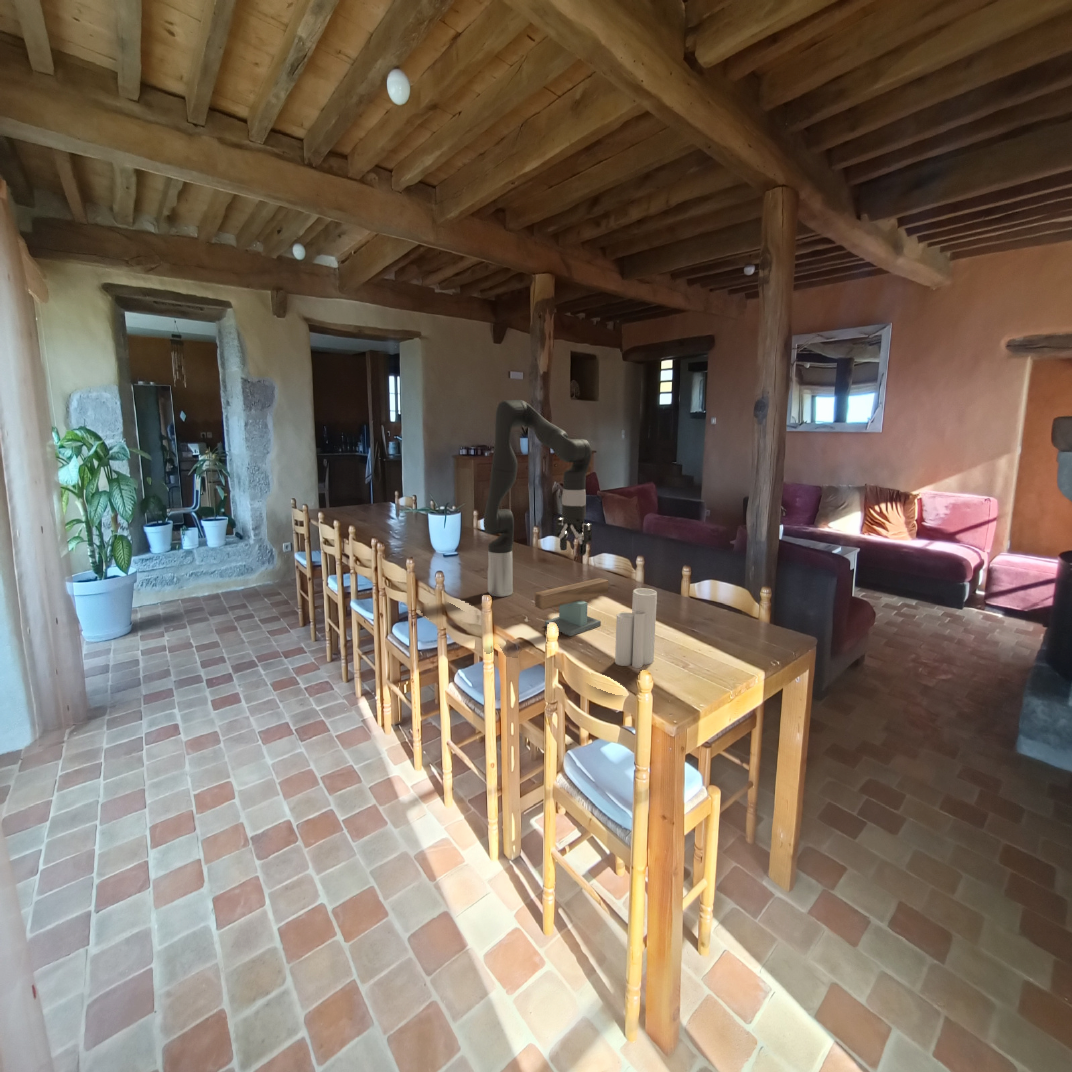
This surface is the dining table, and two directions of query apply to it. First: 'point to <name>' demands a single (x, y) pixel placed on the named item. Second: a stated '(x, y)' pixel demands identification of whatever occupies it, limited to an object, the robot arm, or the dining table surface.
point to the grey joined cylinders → (637, 630)
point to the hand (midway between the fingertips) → (572, 552)
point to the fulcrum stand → (574, 618)
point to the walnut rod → (570, 593)
